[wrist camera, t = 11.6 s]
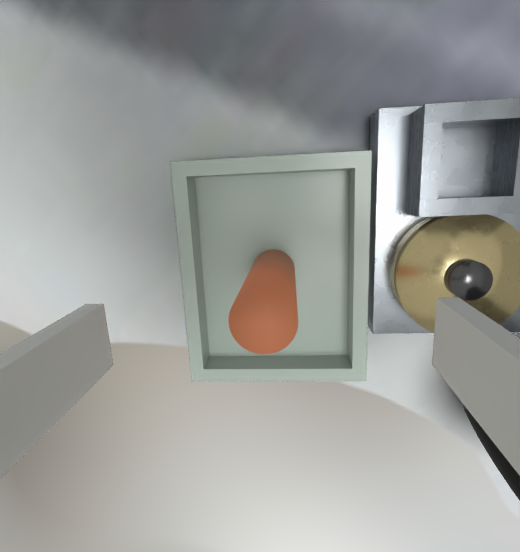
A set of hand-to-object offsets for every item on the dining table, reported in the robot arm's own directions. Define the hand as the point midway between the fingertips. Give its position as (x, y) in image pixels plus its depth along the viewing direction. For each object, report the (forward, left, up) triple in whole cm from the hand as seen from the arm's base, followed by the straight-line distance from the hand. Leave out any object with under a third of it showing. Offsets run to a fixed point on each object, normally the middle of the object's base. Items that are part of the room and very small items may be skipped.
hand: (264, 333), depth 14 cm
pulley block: (-3, +12, -14) cm, 19 cm away
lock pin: (0, 0, -13) cm, 13 cm away
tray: (0, 0, -14) cm, 14 cm away
